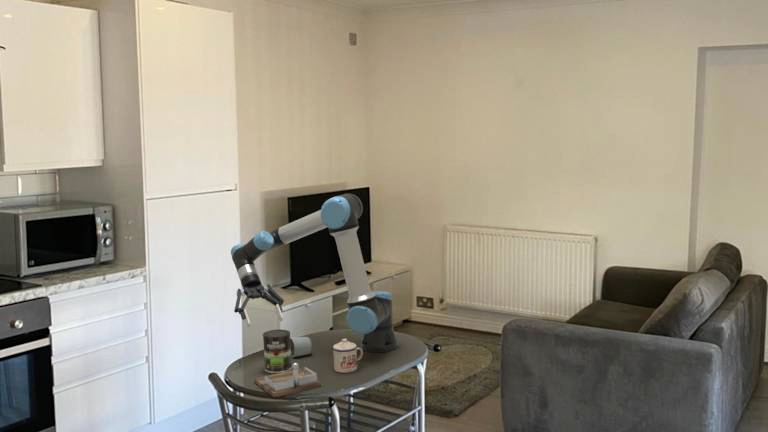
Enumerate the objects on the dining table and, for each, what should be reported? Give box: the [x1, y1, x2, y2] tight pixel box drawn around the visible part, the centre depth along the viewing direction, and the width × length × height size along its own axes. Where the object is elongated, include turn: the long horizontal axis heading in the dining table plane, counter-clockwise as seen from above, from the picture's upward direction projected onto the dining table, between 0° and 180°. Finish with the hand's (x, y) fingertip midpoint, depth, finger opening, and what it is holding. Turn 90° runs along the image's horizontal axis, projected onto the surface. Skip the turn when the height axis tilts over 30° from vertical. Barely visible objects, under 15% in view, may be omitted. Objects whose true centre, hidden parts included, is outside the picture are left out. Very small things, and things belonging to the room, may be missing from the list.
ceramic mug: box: [290, 336, 313, 358], centre depth 309 cm, size 11×8×8 cm
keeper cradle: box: [264, 362, 318, 392], centre depth 271 cm, size 10×16×9 cm, turn 120°
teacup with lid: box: [332, 338, 364, 374], centre depth 289 cm, size 12×9×12 cm
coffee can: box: [262, 329, 293, 374], centre depth 291 cm, size 10×10×14 cm
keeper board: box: [254, 368, 322, 398], centre depth 275 cm, size 18×18×2 cm
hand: (265, 322), depth 299 cm, fingers open, 13 cm apart
